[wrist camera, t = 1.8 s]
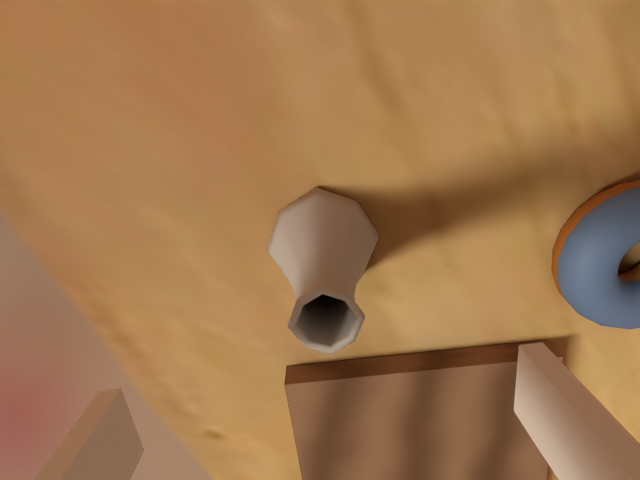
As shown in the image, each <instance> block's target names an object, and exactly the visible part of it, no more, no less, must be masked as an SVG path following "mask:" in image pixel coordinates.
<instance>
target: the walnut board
mask: <svg viewBox="0 0 640 480" xmlns="http://www.w3.org/2000/svg"><path fill="white" fill-rule="evenodd" d="M541 342H543V343H544V344H545V345H546V346H547V348H548V349H549V350H550V351H551V352H552V353H553V354H554V355H555V356H556V357H557V358H558V359H559V360H560V361H561V362H562V360H563V356H562V355H561V354H560V353H559V352H558V351H557V350H556V349H555V348H554V347H553V346H552V345H551V344H550V343H549V342H548V340H540V341H530V342H521V343H511V344H501V345H491V346H481V347H472V348H462V349H452V350H442V351H433V352H423V353H413V354H403V355H393V356H384V357H374V358H364V359H354V360H345V361H335V362H325V363H315V364H306V365H296V366H286V375H285V384H284V385H285V390H286V396H287V401H288V406H289V412H290V417H291V422H292V427H293V433H294V438H295V443H296V449H297V454H298V459H299V464H300V470H301V475H302V480H546V478H547V471H548V463H547V461H546V460H545V458H544V457H543V455H542V454H541V452H540V451H539V449H538V448H537V446H536V445H535V443H534V441H533V440H532V438H531V437H530V435H529V434H528V432H527V431H526V429H525V428H524V426H523V425H522V423H521V421H520V420H519V418H518V417H517V415H516V414H515V412H514V400H515V387H516V374H517V361H518V348H519V345H523V344H532V343H541Z"/></svg>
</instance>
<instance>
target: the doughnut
mask: <svg viewBox="0 0 640 480" xmlns="http://www.w3.org/2000/svg"><path fill="white" fill-rule="evenodd" d="M639 241H640V180H638V181H632V182H626V183H621V184H619V185H616V186H614V187H612V188H610V189H607V190H605V191H603V192H601V193H599V194H596V195H594V196H593V197H592V198H591V199H589V200H588V201H587V202H586V203H584V204H583V205H582V206H580V207H579V208H578V209H577V210H575V211H574V213H573V214H572V215H571V217H570V218H569V219H568V221H567V222H566V223H565V225H564V226H563V227H562V229H561V230H560V232H559V235H558V238H557V240H556V243H555V245H554V248H553V252H552V274H553V277H554V280H555V283H556V286H557V289H558V291H559V293H560V294H561V295H562V296H563V297H564V298H565V300H566V301H567V302H568V303H569V304H570V305H571V306H572V307H573V309H574V310H575V311H576V312H577V313H578V314H580V315H581V316H583V317H585V318H587V319H589V320H591V321H593V322H595V323H597V324H600V325H602V326H608V327H615V328H623V329H635V328H640V263H639V264H638V265H637V266H636V267H634V268H633V269H632V270H630V271H627V272H625V273H623V274H618V269H619V264H620V262H621V260H622V258H623V256H624V255H625V254H626V253H627V251H628V250H629V249H630V248H631V247H632V246H634V245H635V244H637V243H638V242H639Z"/></svg>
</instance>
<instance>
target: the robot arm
mask: <svg viewBox="0 0 640 480" xmlns="http://www.w3.org/2000/svg"><path fill="white" fill-rule="evenodd" d="M514 412H515V414H516V415H517V417H518V418H519V420H520V421H521V423H522V425H523V426H524V428H525V429H526V431H527V432H528V434H529V435H530V437H531V438H532V440H533V441H534V443H535V445H536V446H537V448H538V449H539V451H540V452H541V454H542V455H543V457H544V458H545V460H546V461H547V463H548V464H549V466H550V468H551V469H552V471H553V472H554V474H555V475H556V477H557V478H558V480H640V444H639V443H638V442H637V441H636V440H635V439H634V437H633V436H632V435H631V434H630V433H629V432H628V431H627V430H626V429H625V428H624V427H623V426H622V425H621V424H620V423H619V422H618V421H617V420H616V419H615V418H614V417H613V416H612V414H611V413H610V412H609V411H608V410H607V409H606V408H605V407H604V406H603V405H602V404H601V403H600V402H599V401H598V400H597V399H596V398H595V397H594V396H593V395H592V394H591V393H590V391H589V390H588V389H587V388H586V387H585V386H584V385H583V384H582V383H581V382H580V381H579V380H578V379H577V378H576V377H575V376H574V375H573V374H572V373H571V372H570V371H569V370H568V368H567V367H566V366H565V365H564V364H563V363H562V362H561V361H560V360H559V359H558V358H557V357H556V356H555V355H554V354H553V353H552V352H551V351H550V350H549V349H548V348H547V346H546V345H545V344H544V343H543V342H541V343H532V344H523V345H519V348H518V361H517V374H516V387H515V400H514ZM143 451H144V448H143V446H142V443H141V441H140V438H139V435H138V432H137V430H136V427H135V424H134V422H133V419H132V416H131V414H130V411H129V408H128V406H127V403H126V401H125V398H124V395H123V392H122V390H121V389H114V390H105V391H98V392H97V394H96V395H95V397H94V398H93V399H92V401H91V402H90V403H89V405H88V406H87V407H86V409H85V410H84V412H83V413H82V414H81V416H80V417H79V418H78V420H77V421H76V423H75V424H74V425H73V427H72V428H71V429H70V430H69V432H68V433H67V435H66V436H65V438H64V439H63V440H62V441H61V443H60V444H59V445H58V447H57V448H56V450H55V451H54V452H53V454H52V455H51V456H50V458H49V459H48V460H47V462H46V463H45V465H44V466H43V467H42V469H41V470H40V471H39V473H38V474H37V475H36V477H35V478H34V480H130V479H131V476H132V474H133V472H134V470H135V468H136V466H137V464H138V462H139V460H140V458H141V456H142V454H143Z"/></svg>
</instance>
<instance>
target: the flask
mask: <svg viewBox="0 0 640 480" xmlns="http://www.w3.org/2000/svg"><path fill="white" fill-rule="evenodd" d="M379 236H380V235H379V234H378V232H377V231H376V229H375V228H374V226H373V225H372V223H371V222H370V220H369V219H368V217H367V216H366V214H365V213H364V211H363V210H362V208H361V206H360V205H359V203H358V202H357V201H355V200H352V199H349V198H346V197H343V196H340V195H337V194H334V193H331V192H328V191H325V190H322V189H320V188H317V187H315V188H313V189H312V190H310V191H309V192H307V193H306V194H304V195H303V196H301V197H300V198H298V199H297V200H295V201H294V202H292V203H291V204H289V205H288V206H286V207H285V208H283V209H282V210H280V211H279V214H278V217H277V220H276V223H275V226H274V229H273V232H272V235H271V238H270V242H269V245H268V248H267V250H268V252H269V253H270V255H271V256H272V257H273V259H274V260H275V261H276V263H277V264H278V265H279V267H280V268H281V269H282V271H283V272H284V274H285V276H286V277H287V279H288V280H289V282H290V283H291V285H292V287H293V290H294V294H295V298H296V303H295V306H294V309H293V312H292V314H291V317H290V320H289V322H288V327H289V329H290V330H291V331H292V332H293V333H294V335H295V336H296V337H297V338H298V340H299V341H300V342H301V343H302V344H303V346H304V347H307V348H311V349H314V350H318V351H321V352H325V353H328V354H332V353H334V352H336V351H338V350H339V349H341V348H343V347H345V346H346V345H348V344H350V343H352V342H354V341H355V339H356V337H357V334H358V332H359V330H360V328H361V326H362V323H363V321H364V319H365V315H364V313H363V312H362V310H361V309H360V308H359V306H358V305H357V304H356V302H355V298H354V293H355V288H356V284H357V282H358V281H359V279H360V278H361V277H362V275H363V273H364V271H365V269H366V266H367V264H368V262H369V259H370V257H371V255H372V252H373V250H374V248H375V245H376V243H377V241H378V238H379Z"/></svg>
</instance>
